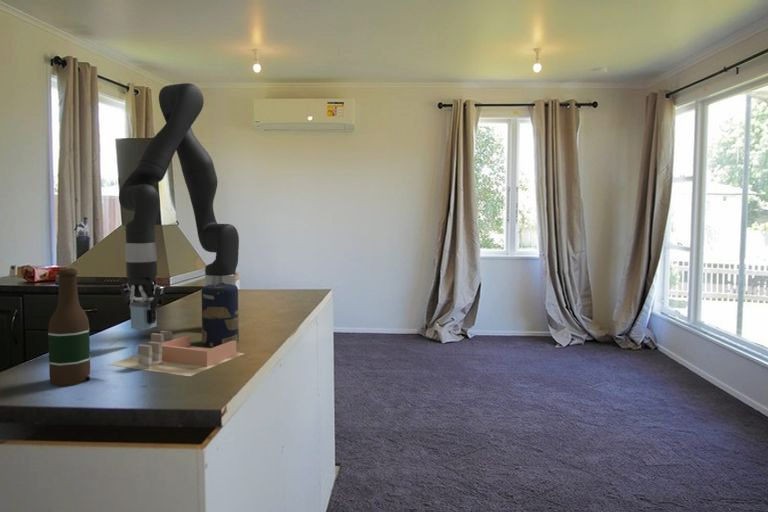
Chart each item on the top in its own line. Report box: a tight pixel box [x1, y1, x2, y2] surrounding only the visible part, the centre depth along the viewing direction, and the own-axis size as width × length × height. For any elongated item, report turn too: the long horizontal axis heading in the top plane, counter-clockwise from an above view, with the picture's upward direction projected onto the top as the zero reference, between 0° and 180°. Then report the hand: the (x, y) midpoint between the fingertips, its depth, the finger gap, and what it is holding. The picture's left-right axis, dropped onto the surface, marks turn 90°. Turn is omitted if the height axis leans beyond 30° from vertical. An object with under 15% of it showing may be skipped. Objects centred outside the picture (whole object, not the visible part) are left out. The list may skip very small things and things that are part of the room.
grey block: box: [129, 299, 158, 331], centre depth 138 cm, size 4×4×7 cm
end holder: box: [162, 334, 240, 367], centre depth 124 cm, size 12×15×4 cm
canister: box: [201, 282, 240, 348], centre depth 138 cm, size 10×10×18 cm
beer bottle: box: [47, 268, 91, 387], centre depth 108 cm, size 8×8×24 cm
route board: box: [107, 330, 245, 377], centre depth 123 cm, size 20×23×6 cm
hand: (143, 322), depth 138 cm, fingers closed on grey block, 4 cm apart
